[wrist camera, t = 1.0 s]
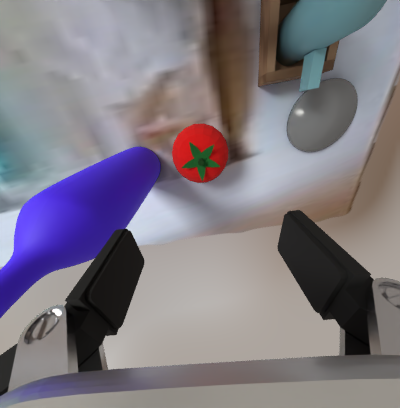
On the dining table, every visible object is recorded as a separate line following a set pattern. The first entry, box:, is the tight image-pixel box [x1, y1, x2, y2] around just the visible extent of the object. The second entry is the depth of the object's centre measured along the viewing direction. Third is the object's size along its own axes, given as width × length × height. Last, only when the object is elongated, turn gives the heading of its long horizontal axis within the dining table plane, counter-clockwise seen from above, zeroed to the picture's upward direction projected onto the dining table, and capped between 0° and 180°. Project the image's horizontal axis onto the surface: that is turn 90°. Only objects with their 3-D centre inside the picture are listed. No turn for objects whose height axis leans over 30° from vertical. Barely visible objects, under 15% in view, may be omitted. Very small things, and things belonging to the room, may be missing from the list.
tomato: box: [172, 124, 228, 183], centre depth 27 cm, size 10×10×10 cm
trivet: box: [287, 78, 357, 152], centre depth 28 cm, size 12×12×1 cm
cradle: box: [258, 0, 339, 87], centre depth 22 cm, size 10×10×4 cm
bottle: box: [0, 147, 161, 318], centre depth 20 cm, size 8×8×30 cm
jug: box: [276, 0, 387, 92], centre depth 19 cm, size 10×6×11 cm, turn 9°
